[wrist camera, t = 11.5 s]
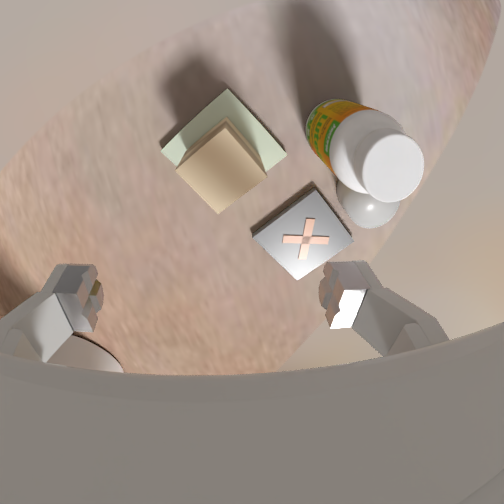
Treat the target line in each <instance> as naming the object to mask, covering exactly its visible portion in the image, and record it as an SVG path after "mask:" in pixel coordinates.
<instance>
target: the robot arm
mask: <svg viewBox="0 0 504 504" xmlns="http://www.w3.org/2000/svg"><path fill="white" fill-rule="evenodd" d="M323 272H324V275H325V277H324V278H323V279H322V280H321V281H320V285H319V300H320V303H321V306H322V307H324V308H325V309H326V310H327V311H326V314H325V316H326V318H327V321H328V323H329V326H330V328H331V329H333V328H344V327H352V329H353V330H354V331H356V332H357V333H358V334H359V335H360V336H361V337H362V338H363V339H365V340H366V341H367V342H368V343H369V344H370V345H371V346H372V347H373V348H375V350H377V351H378V352H379V353H380V354H381V355H382V356H383V357H380V358H374V359H369V360H363V361H358V362H352V363H346V364H339V365H333V366H326V367H318V368H310V369H302V370H294V371H282V372H270V373H256V374H238V375H155V374H137V373H124V372H123V369H122V367H121V365H120V364H119V363H118V362H117V361H116V360H115V359H114V358H113V357H112V356H111V355H110V354H109V353H107V352H106V351H105V350H103V349H101V348H100V347H98V346H97V345H95V344H93V343H91V342H89V341H87V340H84V339H82V338H79V337H76V336H73V335H71V334H72V333H73V331H80V332H94V329H95V326H96V323H97V320H98V317H97V314H96V313H97V312H98V311H99V310H101V308H102V305H103V298H104V294H103V288H102V285H101V283H100V282H99V281H98V280H97V279H96V278H97V275H98V272H97V269H96V266H94V265H93V264H58V265H56V267H55V268H54V270H53V272H52V273H51V275H50V277H49V278H48V280H47V282H46V283H45V285H44V287H43V289H42V290H41V292H37V293H35V294H34V295H32V296H31V297H30V298H28V299H27V300H25V301H24V302H23V303H21V304H20V305H19V306H17V307H16V308H15V309H13V310H12V311H11V312H9V313H8V314H7V315H5V316H4V317H3V318H1V319H0V504H504V322H502V323H500V324H497V325H494V326H492V327H489V328H486V329H484V330H480V331H477V332H475V333H472V334H468V335H465V336H462V337H459V338H456V339H452V340H449V338H448V337H447V335H446V334H445V332H444V330H443V329H442V327H441V326H440V324H439V322H438V321H437V319H436V318H435V317H433V316H432V315H430V314H429V313H427V312H425V311H424V310H422V309H421V308H419V307H417V306H416V305H414V304H413V303H411V302H409V301H408V300H406V299H405V298H403V297H401V296H400V295H398V294H397V293H395V292H393V291H391V290H390V289H388V288H384V287H383V286H382V284H381V283H380V281H379V280H378V279H377V277H376V275H375V274H374V272H373V271H372V269H371V268H370V266H369V265H368V263H367V262H366V261H364V260H360V261H351V262H327V263H326V264H325V266H324V270H323Z"/></svg>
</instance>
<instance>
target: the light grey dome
mask: <svg viewBox="0 0 504 504" xmlns="http://www.w3.org/2000/svg"><path fill="white" fill-rule="evenodd" d="M337 197H338V200H339V202H340V204H341V205H342V207H343V208H344V209H345V211H346V212H347V214H348V215H349V216H350V218H351V219H352V220H353V222H354V223H355V224H357V225H358V226H360V227H363V228H376V227H379V226H381V225H383V224H385V223H386V222H388V221H389V220H390V219H391V218H392V217H393V216H394V214H395V213H396V211H397V209H398V207H399V204H400V201H397V202H382V201H379V200H377V199H375V198H374V197H372V196H371V195H370V194H366V193H360V192H356V191H354V190H352V189H350V188H349V187H347V186H346V185H345V184H343V183H342V182H341V181H340V180H339V181H338V184H337Z"/></svg>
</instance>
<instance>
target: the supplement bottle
mask: <svg viewBox="0 0 504 504" xmlns="http://www.w3.org/2000/svg"><path fill="white" fill-rule="evenodd" d="M306 138H307V141H308V144H309V146H310V147H311V149H312V150H313V151H314V153H315V154H316V155H317V156H318V157H319V158H320V159H321V160H322V161H323V162H324V163H325V164H326V165H327V167H328V168H329V169H330V170H331V171H332V172H333V173H334V174H335V175H336V176H337V177H338V179H339V180H340V181H341V182H342V183H343V184H345V185H346V186H347V187H349V188H350V189H352V190H354V191H356V192H360V193H366V194H370V195H371V196H372V197H374V198H375V199H377V200H379V201H382V202H397V201H400V200H402V199H404V198H406V197H407V196H409V195H410V194H411V193H412V192H413V191H414V190H415V189H416V187H417V186H418V184H419V183H420V180H421V178H422V175H423V171H424V158H423V154H422V151H421V149H420V147H419V145H418V144H417V143H416V142H415V141H414V140H413V139H412V138H411V137H409V136H407V135H406V133H405V131H404V130H403V128H402V127H401V125H400V124H399V123H398V122H397V121H396V120H395V119H394V118H392V117H391V116H389V115H387V114H385V113H383V112H381V111H378V110H375V109H372V108H369V107H366V106H363V105H360V104H357V103H354V102H351V101H348V100H343V99H330V100H327V101H324V102H322V103H320V104H319V105H317V106H316V107H315V108H314V109H313V110H312V112H311V113H310V115H309V117H308V119H307V122H306Z"/></svg>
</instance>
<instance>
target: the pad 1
mask: <svg viewBox="0 0 504 504" xmlns="http://www.w3.org/2000/svg"><path fill="white" fill-rule="evenodd" d="M225 117H227V118H228V119H229V120H230V121H231V122H232V123H233V124H234V126H235V127H236V128H237V129H238V130H239V131H240V132H241V134H242V135H243V136H244V137H245V138H246V139H247V141H248V142H249V143H250V144H251V145H252V146H253V148H254V149H255V150H256V151H257V152H258V154H259V155H260V157H261V160H262V163H263V165H264V168H265V171H268V170H269V169H270V168H271V167H273V166H274V165H275V164H277V163H278V162H279V161H280V160H282V159H283V158H284V157H285V156H287V154H286V152H285V151H284V150H283V149H282V147H281V146H280V145H279V144H278V143H277V142H276V141H275V139H274V138H273V137H272V136H271V135H270V134H269V133H268V131H267V130H266V129H265V128H264V127H263V126H262V125H261V124H260V122H259V121H258V120H257V119H256V118H255V117H254V116H253V115H252V114H251V113H250V112H249V110H248V109H247V108H246V107H245V106H244V105H243V104H242V103H241V102H240V101H239V100H238V99H237V98H236V97H235V96H234V95H233V94H232V93H231V92H230V90H229V89H228V88H227V89H226V90H225V91H224V92H222V93H221V94H220V95H219V96H218V97H217V98H215V99H214V100H213V101H212V102H211V103H210V104H209V105H207V106H206V107H205V108H204V109H203V110H202V111H201V112H200V113H199V114H198V115H196V116H195V117H194V118H193V119H192V120H191V121H190V122H189V123H188V124H187V125H186V126H185V127H184V128H183V129H182V130H181V131H180V132H179V133H178V134H177V135H176V136H175V137H174V138H173V139H172V140H171V141H170V142H169V143H168V144H167V145H166V146H165V147H164V148H163V149H162V150H161V152H162V153H163V154H164V155H165V156H166V157H167V158H168V159H169V160H171V161H172V162H173V163H174V164H175V165H176V166H178V164H179V162H180V161H181V159H182V157H183V155H184V153H185V152H186V150H187V149H188V148H189V147H191V146H192V145H193V144H194V143H195V142H196V141H197V140H199V139H200V138H201V137H202V136H203V135H205V134H206V133H207V132H208V131H209V130H211V129H212V128H213V127H214V126H215V125H217V124H218V123H219V122H220V121H222V120H223V119H224V118H225Z"/></svg>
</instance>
